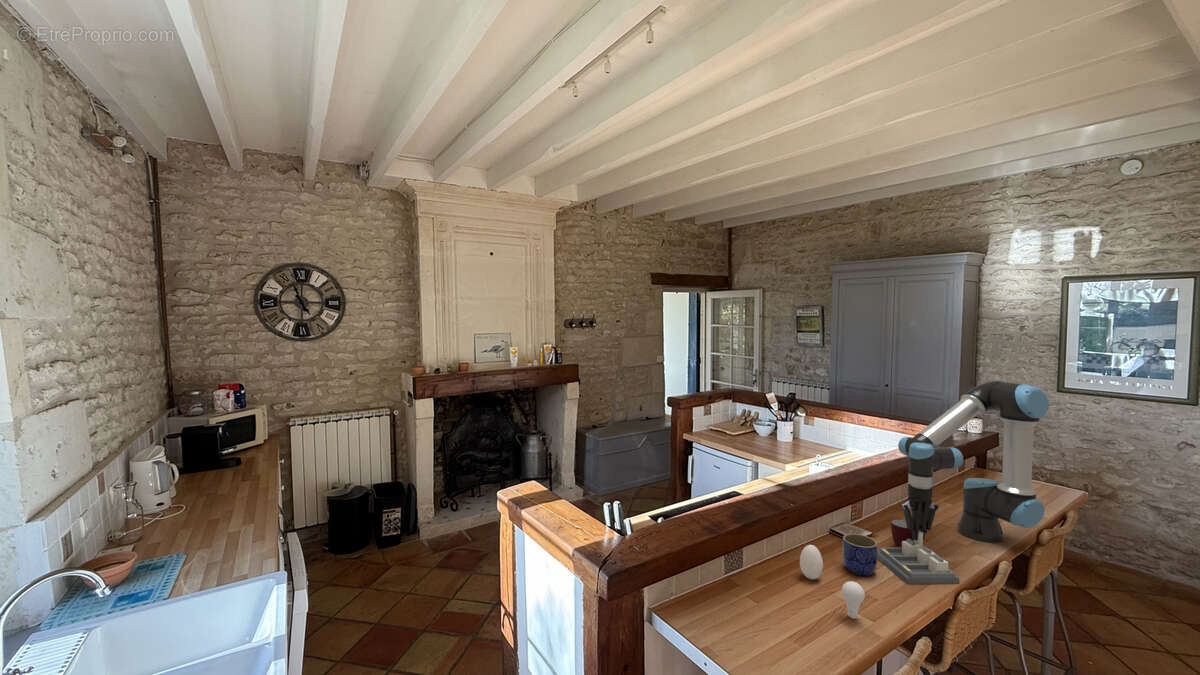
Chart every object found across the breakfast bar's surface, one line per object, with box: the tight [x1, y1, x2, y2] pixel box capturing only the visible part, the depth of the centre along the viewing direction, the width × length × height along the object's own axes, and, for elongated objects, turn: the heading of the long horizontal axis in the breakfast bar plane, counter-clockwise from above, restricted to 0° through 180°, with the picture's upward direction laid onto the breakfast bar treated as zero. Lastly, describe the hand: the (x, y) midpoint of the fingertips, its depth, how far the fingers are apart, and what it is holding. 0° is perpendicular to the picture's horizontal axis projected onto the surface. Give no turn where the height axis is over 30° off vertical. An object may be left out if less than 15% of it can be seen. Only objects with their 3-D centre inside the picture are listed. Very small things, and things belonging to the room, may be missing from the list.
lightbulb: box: [841, 580, 866, 620], centre depth 146 cm, size 6×6×11 cm
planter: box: [842, 533, 878, 576], centre depth 173 cm, size 11×11×11 cm
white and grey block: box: [928, 554, 949, 572], centre depth 168 cm, size 4×4×6 cm
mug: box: [890, 519, 914, 548], centre depth 188 cm, size 11×8×10 cm
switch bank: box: [877, 547, 960, 585], centre depth 174 cm, size 18×18×4 cm
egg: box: [799, 544, 824, 580], centre depth 168 cm, size 7×7×12 cm
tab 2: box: [917, 546, 937, 563], centre depth 174 cm, size 4×4×6 cm
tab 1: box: [902, 539, 920, 555], centre depth 180 cm, size 4×4×6 cm
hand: (918, 548), depth 180 cm, fingers closed
